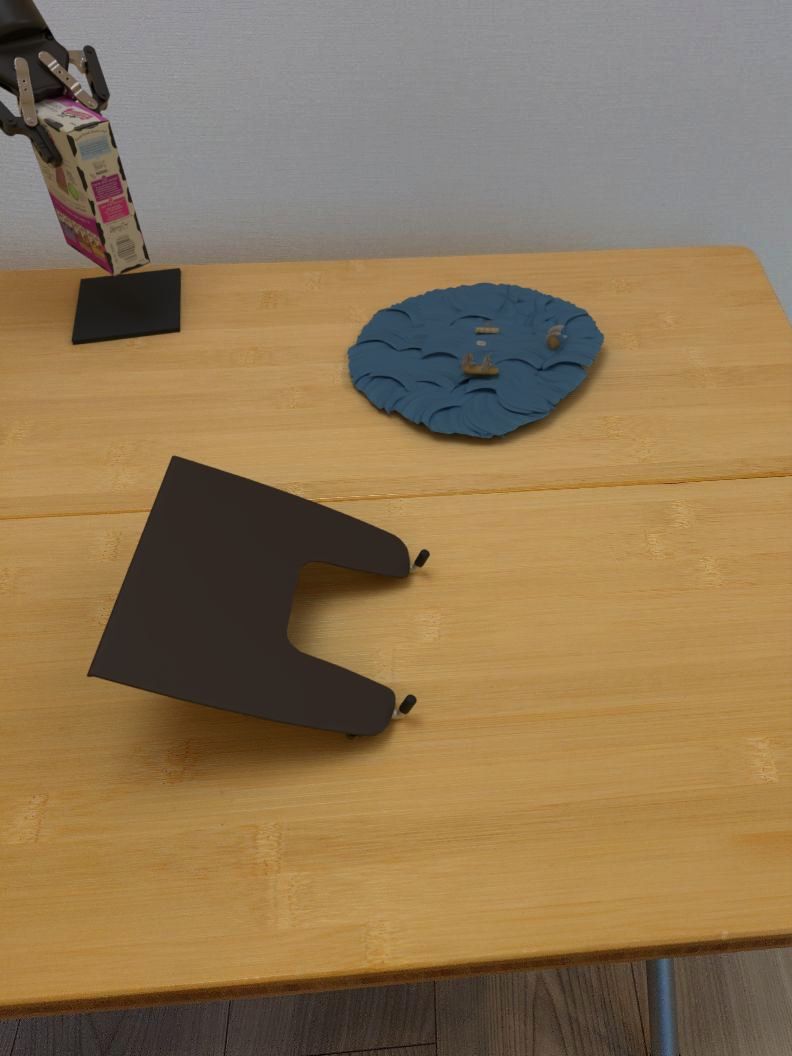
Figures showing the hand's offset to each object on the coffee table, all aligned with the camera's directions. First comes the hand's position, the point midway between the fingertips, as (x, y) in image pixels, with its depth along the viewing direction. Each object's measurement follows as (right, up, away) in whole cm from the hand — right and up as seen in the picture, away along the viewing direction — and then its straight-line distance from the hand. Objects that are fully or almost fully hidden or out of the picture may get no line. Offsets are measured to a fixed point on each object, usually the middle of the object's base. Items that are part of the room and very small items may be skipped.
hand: (83, 155), depth 101 cm
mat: (-1, -13, +15) cm, 19 cm away
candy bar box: (-2, -8, +10) cm, 12 cm away
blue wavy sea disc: (+42, -21, +8) cm, 47 cm away
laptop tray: (+28, -50, -21) cm, 61 cm away
